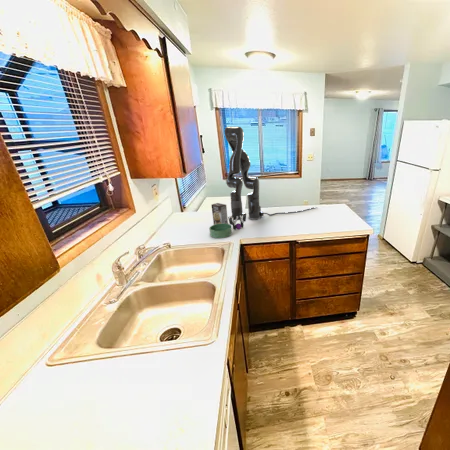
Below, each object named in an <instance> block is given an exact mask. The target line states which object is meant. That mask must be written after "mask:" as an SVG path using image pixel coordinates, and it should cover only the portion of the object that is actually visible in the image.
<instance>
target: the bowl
mask: <svg viewBox="0 0 450 450" xmlns="http://www.w3.org/2000/svg"><path fill="white" fill-rule="evenodd" d="M208 229H209V230H208V231H209V236H210V237H211V238H214V239H224V238H227V237H230V236H231V235H232V234H233V226H232V225H231V224H230V223H228V224H215V225H214V224H213V225H210V226H209V228H208Z"/></svg>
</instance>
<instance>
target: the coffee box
mask: <svg viewBox="0 0 450 450" xmlns="http://www.w3.org/2000/svg"><path fill="white" fill-rule="evenodd" d="M227 208H228V207H227V204H225V203H220V202H216V203H212V204H211V212H212V213H211V214H212V221H213V222H212V223H213V225H215V224H229V219H228V210H227Z"/></svg>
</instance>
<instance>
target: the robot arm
mask: <svg viewBox="0 0 450 450" xmlns="http://www.w3.org/2000/svg"><path fill="white" fill-rule="evenodd" d="M224 136H225V139H226V141H227V143H228V145H229V147H230V149H231V151H232V154H231V156H230V158H229V169H228V173H227V174H228V175H227V178H226V185H227V187H228V188H230V189H235V190H233V191H231V192H230V193H229V194H230V196H229V197H230V208H231V210H230V211H231V216H227V219H228V224H230V225H231V226H232V230H234V231H236V230H237V229H236V224H237V223H238V221H239V222H240V223H239V224H241V229H243V228H244V226H245V225H244V223H245V222H246V220H247V214H248V219H249V220H260V219H261V218H262V217H264V215H267V216H275V215H280V214H281V215H282V214H283V215H284V214H285V215H286V213H285V212H274V213H271V214H270V213H268V212H264V211H262V209H261V208H262V207H261V205H260V179H259V178H258V177H250V175H249V170H250V168H251V160H250V157H249V155H248V154H247V152H246V151H245V150H244V149H243V145H244V140H245V139H244V137H245V133H244V129H243V128H242V127H241V126H226V127H225V129H224ZM239 174H240V175H241V177H242V179H241V178H240V177H235V176H236V175H239ZM243 185H244V187H245V189H247V190H253V191H252V192H249V193H247V197H246V198H247V209H248V211H247V213H245V212H243V201H242V190H243ZM313 209H315V208H314V207H311V209H310V208H307V209H302V210H303V211H302V210H298V211H297V210H296V211H297V212H296V211H287V212H288V213H287V214H295V213H303V212H306V211H310V210H313Z"/></svg>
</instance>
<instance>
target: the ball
mask: <svg viewBox="0 0 450 450" xmlns="http://www.w3.org/2000/svg"><path fill="white" fill-rule="evenodd" d="M240 229H242V228H241V224H240V223H238V222H236V230H240Z"/></svg>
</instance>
